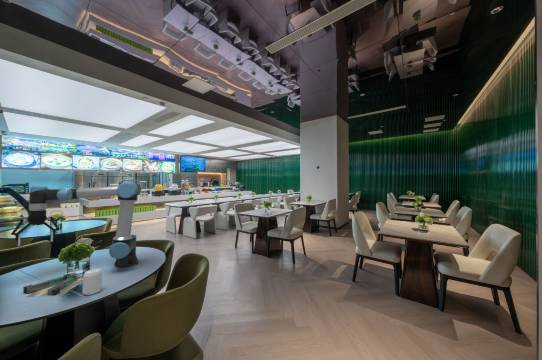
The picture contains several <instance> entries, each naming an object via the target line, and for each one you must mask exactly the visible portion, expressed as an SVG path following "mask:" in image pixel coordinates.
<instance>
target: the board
mask: <svg viewBox="0 0 542 360" xmlns="http://www.w3.org/2000/svg"><path fill="white" fill-rule="evenodd" d="M81 283H82V284H83V277H79V278H77V281H76V282H74V283H73V284H71V285H69V286H68V287H66V288H64V289H62V290H61V291H60V293H58V294H57V295H56V296H60V295H64V294H65V293H67V292H68V291H70V290H72V289H73V288H76V287H78V285H80V284H81ZM57 285H58V284H57ZM54 286H56V285H54ZM54 286H51V287H47V288H44V289H41V290H37V291H34V292H31V293H29V295H27V296H25V298H34V297H35V298H36V297H45V296H46V297H47V293H48V289H50V288H52V287H54ZM48 296H50V295H48Z"/></svg>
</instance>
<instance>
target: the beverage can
mask: <svg viewBox="0 0 542 360" xmlns="http://www.w3.org/2000/svg"><path fill="white" fill-rule="evenodd" d="M102 275H103V272H102V269H101V268H92V269H89V270H86V271H85V272H84V274H83V275H82V278H83V282H82V294H84V296H91V295H95V294H98V293H99V292H100V291H101V290H102V280H103V279H102V277H103V276H102Z"/></svg>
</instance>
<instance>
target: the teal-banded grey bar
mask: <svg viewBox="0 0 542 360" xmlns="http://www.w3.org/2000/svg"><path fill="white" fill-rule="evenodd" d="M77 279H78V275H72V276H68V277H67V279H66V280H65V281H63V282H61V283H59V284H58V285H56V286H54V287H52V288H50V289H48V293H47V296H48V295H49V296H58V295H57V294H58V293H60V291H61V290H62V289H64V288H66V287H68V286H69V285H71V284H73V283H74V282H76V281H77ZM47 296H46V297H47Z"/></svg>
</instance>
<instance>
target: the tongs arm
mask: <svg viewBox="0 0 542 360" xmlns="http://www.w3.org/2000/svg"><path fill="white" fill-rule="evenodd" d="M72 275H75V276H77V273H76V272H70V273H67V274H63V276H58V277H55V278H51V279H48V280H46V281H42V282H39V283H35V284H29V285H26V286H25V285H24V286H23V288H22V290H23V291H22V293H24V294H32V293H34V292H36V291H38V290H41V289H44V288H47V287H51V286H54V285H57V284H59V283H61V282H63V281H65V280H66V279H68V278H69V276H72Z"/></svg>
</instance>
